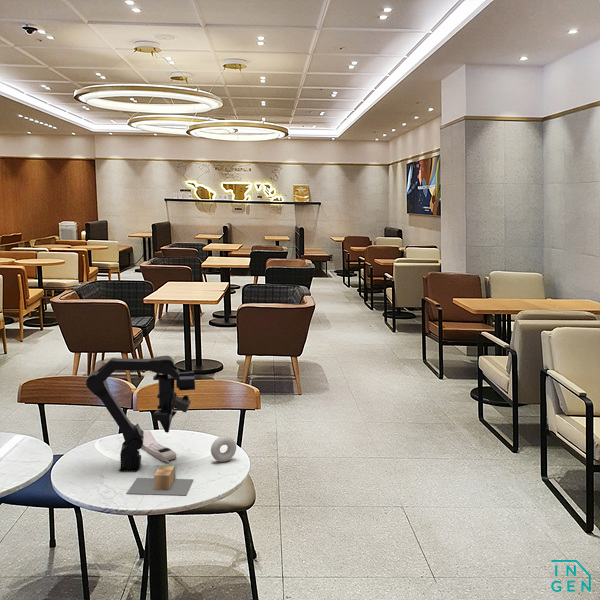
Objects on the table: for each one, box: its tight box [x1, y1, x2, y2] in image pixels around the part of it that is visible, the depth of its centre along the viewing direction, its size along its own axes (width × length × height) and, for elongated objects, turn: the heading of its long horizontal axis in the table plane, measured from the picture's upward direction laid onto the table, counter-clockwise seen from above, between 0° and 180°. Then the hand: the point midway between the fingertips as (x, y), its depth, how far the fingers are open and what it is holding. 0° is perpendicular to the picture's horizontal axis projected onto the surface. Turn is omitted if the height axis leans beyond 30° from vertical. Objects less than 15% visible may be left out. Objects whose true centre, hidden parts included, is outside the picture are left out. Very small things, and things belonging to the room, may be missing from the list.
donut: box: [210, 435, 237, 463], centre depth 251 cm, size 10×4×10 cm, turn 117°
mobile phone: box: [143, 429, 177, 464], centre depth 259 cm, size 6×6×25 cm
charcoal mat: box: [126, 477, 194, 497], centre depth 228 cm, size 20×13×1 cm, turn 88°
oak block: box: [153, 463, 177, 490], centre depth 229 cm, size 5×5×10 cm
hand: (167, 432), depth 244 cm, fingers closed
